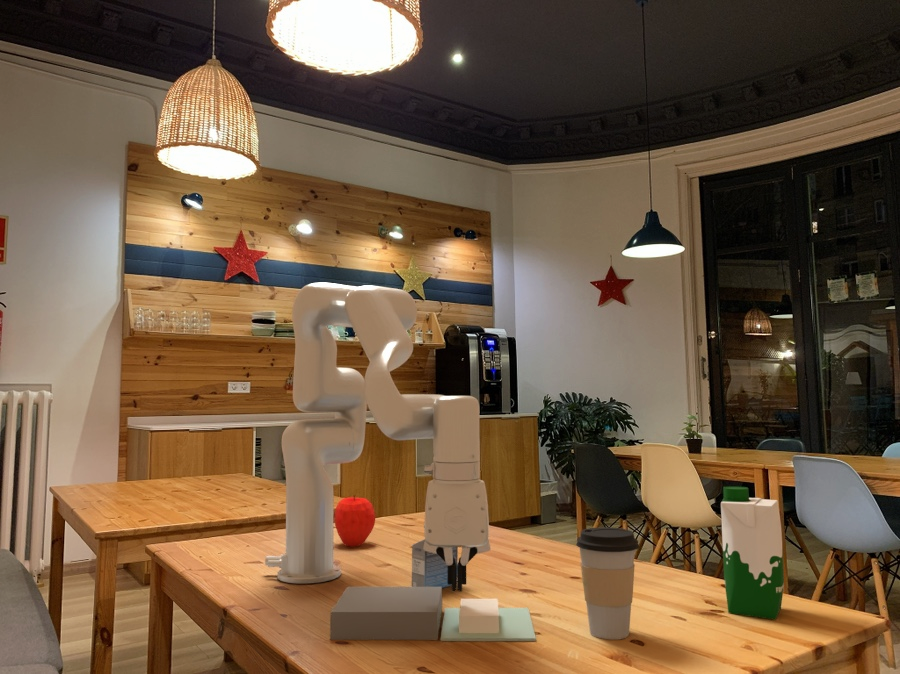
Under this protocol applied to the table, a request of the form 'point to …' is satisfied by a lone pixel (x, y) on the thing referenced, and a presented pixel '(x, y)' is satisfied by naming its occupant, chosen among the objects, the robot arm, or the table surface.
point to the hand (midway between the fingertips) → (457, 588)
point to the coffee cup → (608, 579)
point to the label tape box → (429, 567)
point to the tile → (479, 616)
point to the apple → (354, 520)
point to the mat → (511, 628)
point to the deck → (387, 614)
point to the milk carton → (752, 554)
